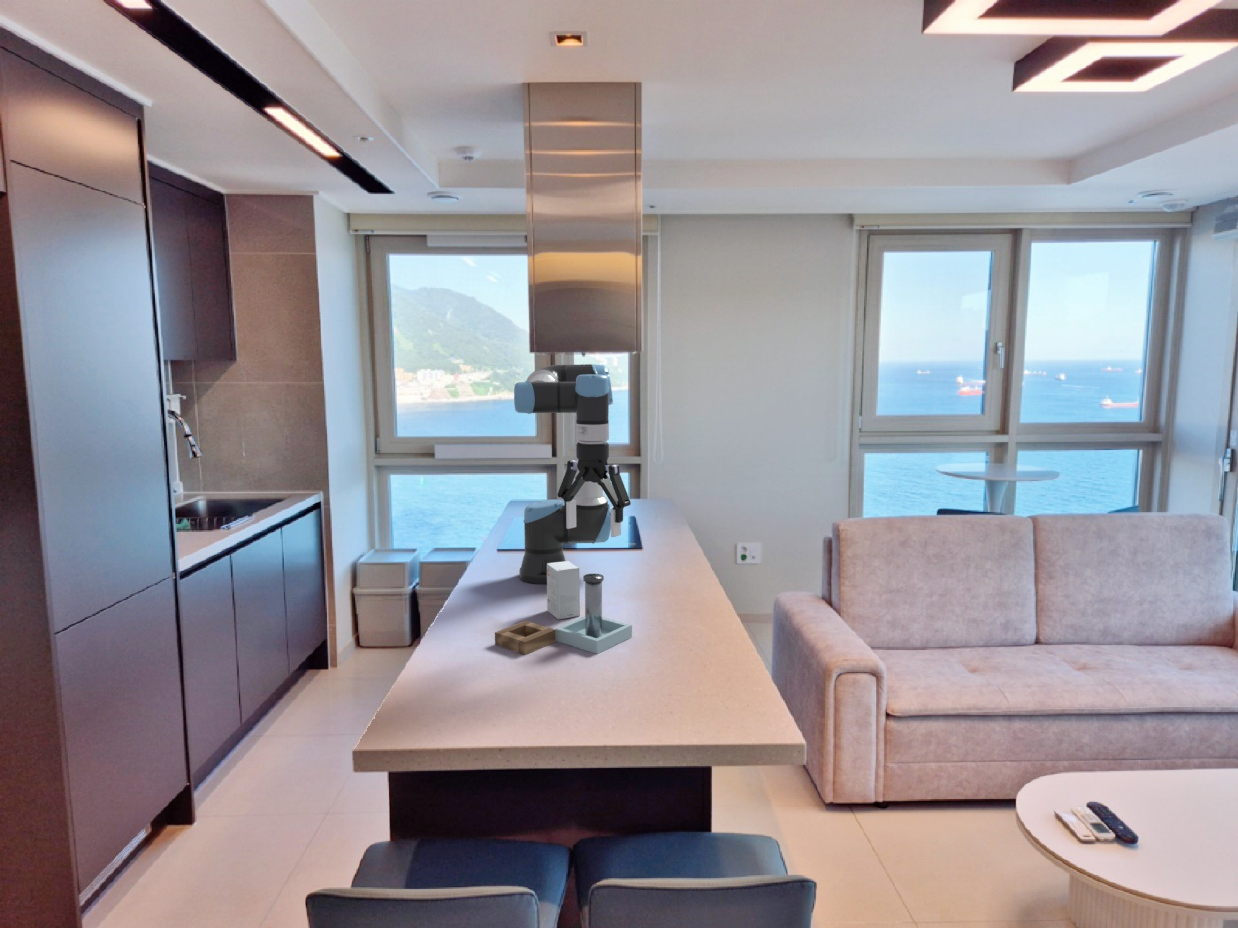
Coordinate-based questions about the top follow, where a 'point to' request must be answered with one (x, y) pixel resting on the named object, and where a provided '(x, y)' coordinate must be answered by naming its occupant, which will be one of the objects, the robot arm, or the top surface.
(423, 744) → the top surface
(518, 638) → the socket block
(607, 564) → the top surface
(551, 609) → the small box
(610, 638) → the tray
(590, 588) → the pin
